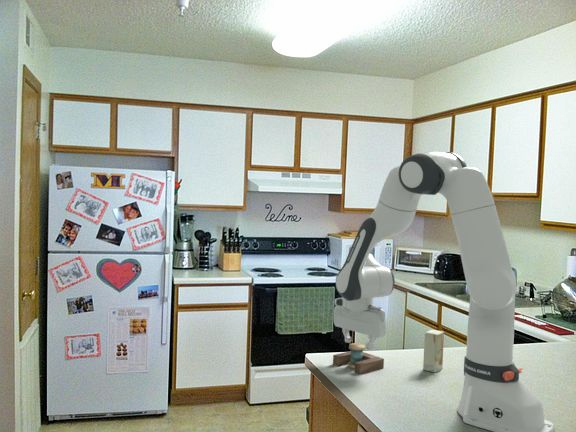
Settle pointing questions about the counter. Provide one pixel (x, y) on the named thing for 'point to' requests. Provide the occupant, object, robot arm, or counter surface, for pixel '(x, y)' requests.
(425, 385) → the counter surface
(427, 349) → the skincare box
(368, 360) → the notched board
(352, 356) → the thread spool
